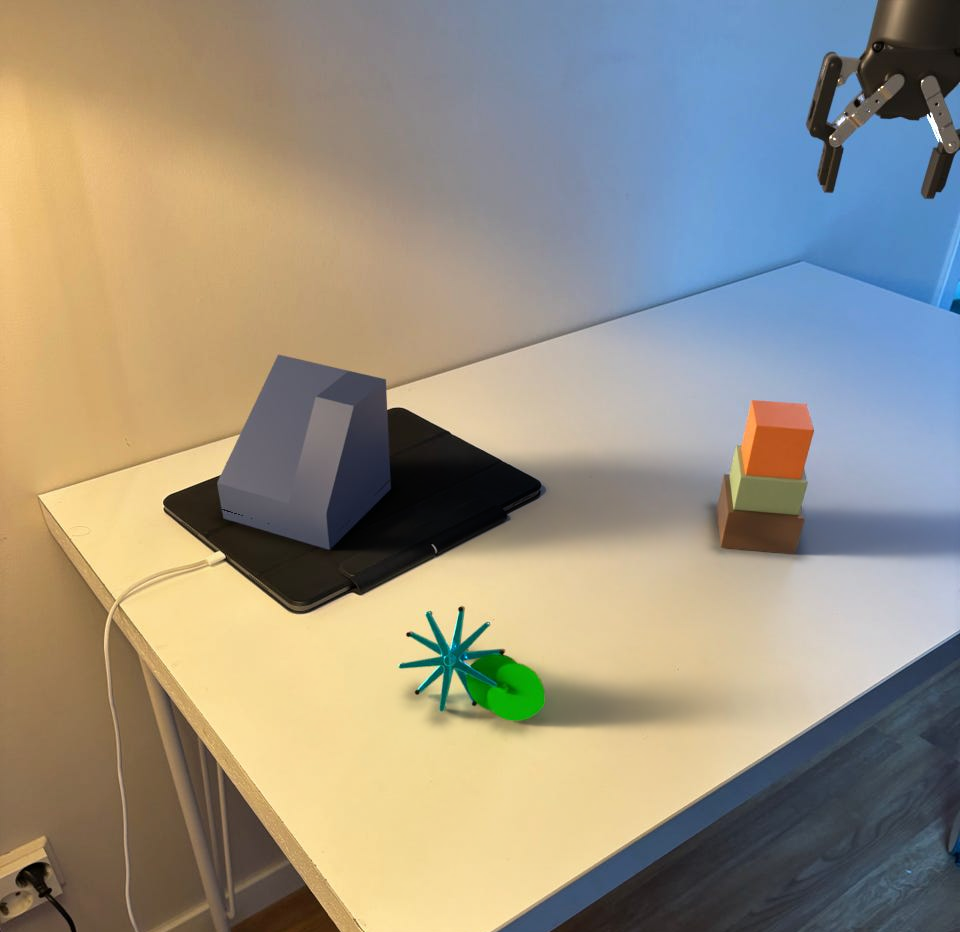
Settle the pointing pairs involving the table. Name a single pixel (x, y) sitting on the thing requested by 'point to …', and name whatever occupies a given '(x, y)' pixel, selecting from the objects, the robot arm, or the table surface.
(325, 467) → the phone stand
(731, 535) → the walnut block
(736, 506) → the green block
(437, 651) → the stick construction toy
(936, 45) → the robot arm
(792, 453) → the toy cube
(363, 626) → the table surface
